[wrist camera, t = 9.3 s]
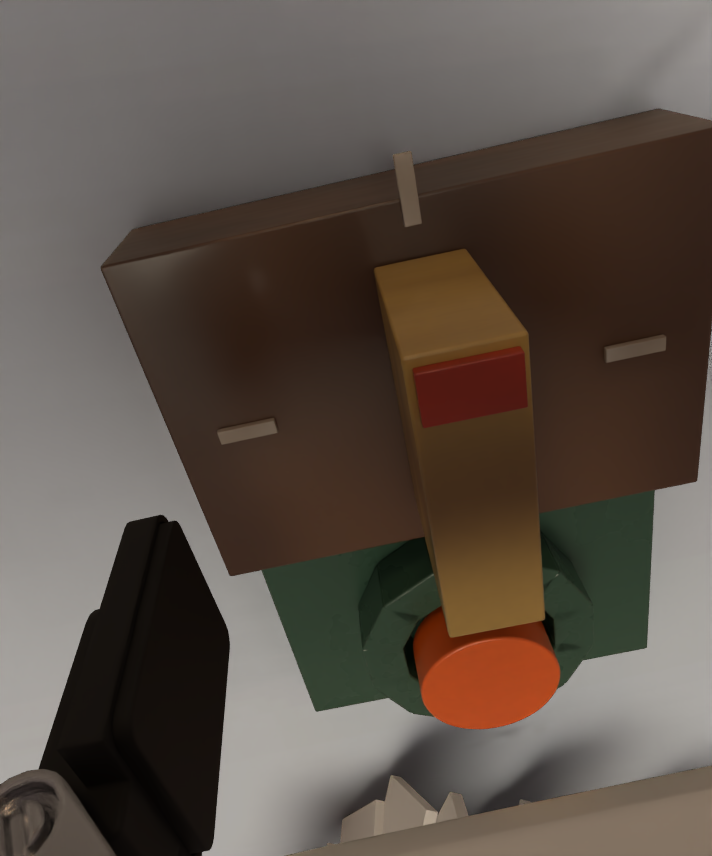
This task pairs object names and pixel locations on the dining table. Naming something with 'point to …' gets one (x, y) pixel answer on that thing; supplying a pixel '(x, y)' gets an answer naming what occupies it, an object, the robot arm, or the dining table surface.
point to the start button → (484, 673)
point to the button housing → (418, 596)
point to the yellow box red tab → (467, 437)
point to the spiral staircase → (400, 812)
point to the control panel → (366, 341)
